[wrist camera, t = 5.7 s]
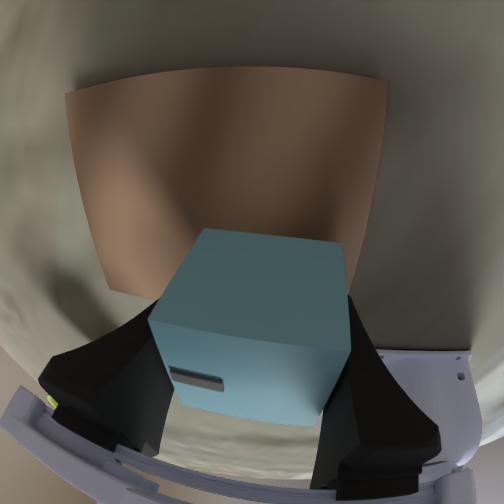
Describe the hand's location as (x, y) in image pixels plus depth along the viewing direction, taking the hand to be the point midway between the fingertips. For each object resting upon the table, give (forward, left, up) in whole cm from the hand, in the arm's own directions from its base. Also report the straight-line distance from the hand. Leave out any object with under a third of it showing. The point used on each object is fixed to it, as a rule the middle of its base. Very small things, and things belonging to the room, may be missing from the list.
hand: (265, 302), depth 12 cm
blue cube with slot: (0, 0, -1) cm, 1 cm away
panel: (+3, -2, -4) cm, 6 cm away
